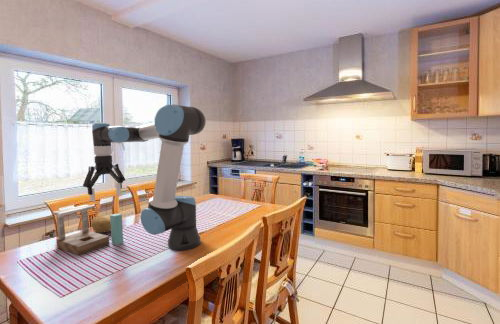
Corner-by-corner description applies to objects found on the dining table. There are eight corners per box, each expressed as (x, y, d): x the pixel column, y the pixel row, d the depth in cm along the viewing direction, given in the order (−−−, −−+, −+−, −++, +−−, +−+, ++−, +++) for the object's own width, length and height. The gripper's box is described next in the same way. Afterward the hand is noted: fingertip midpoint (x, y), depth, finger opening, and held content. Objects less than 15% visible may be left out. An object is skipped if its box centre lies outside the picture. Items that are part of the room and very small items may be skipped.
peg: (123, 242, 134) (121, 214, 132) (116, 244, 130) (114, 216, 129) (118, 240, 135) (116, 213, 134) (111, 243, 132) (110, 215, 131)
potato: (100, 237, 140) (99, 222, 140) (87, 232, 148) (86, 217, 147) (118, 231, 148) (117, 217, 148) (105, 227, 156) (104, 213, 155)
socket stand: (110, 243, 132) (108, 208, 130) (78, 256, 119) (75, 217, 117) (88, 237, 140) (86, 204, 139) (56, 248, 127) (53, 211, 126)
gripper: (121, 153, 145) (124, 192, 147) (71, 156, 124) (75, 203, 125) (130, 153, 142) (133, 193, 143) (81, 157, 120) (85, 204, 122)
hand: (106, 198), depth 134 cm, fingers open, 13 cm apart
